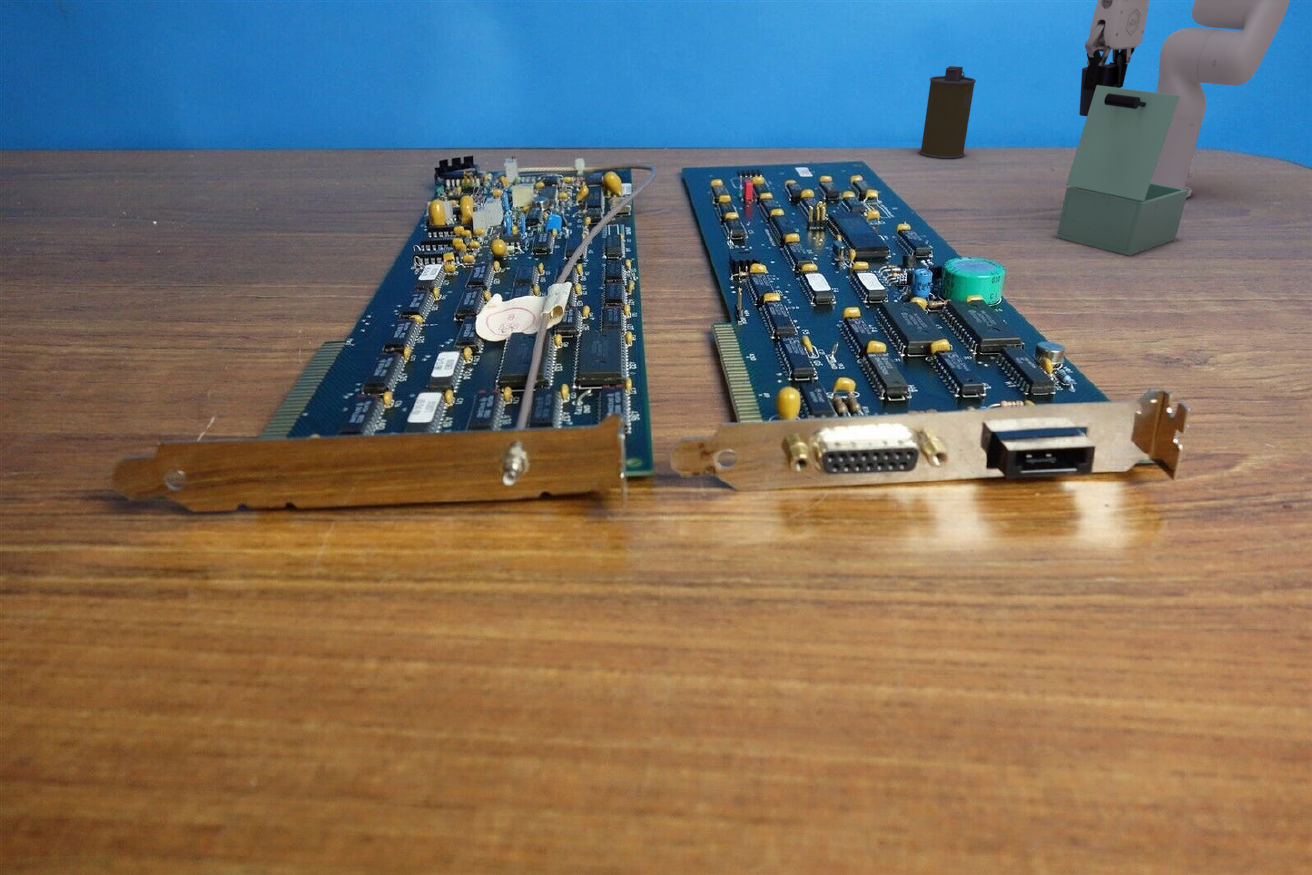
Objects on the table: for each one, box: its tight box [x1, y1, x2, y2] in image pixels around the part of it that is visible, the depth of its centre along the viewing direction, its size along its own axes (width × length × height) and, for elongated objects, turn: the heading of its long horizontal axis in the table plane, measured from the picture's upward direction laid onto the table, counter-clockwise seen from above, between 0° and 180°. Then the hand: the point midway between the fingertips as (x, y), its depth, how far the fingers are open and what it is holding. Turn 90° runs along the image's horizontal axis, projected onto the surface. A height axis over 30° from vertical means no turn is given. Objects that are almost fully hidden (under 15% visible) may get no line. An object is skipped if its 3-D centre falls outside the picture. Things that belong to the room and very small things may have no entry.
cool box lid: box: [1066, 85, 1180, 201], centre depth 153 cm, size 16×14×5 cm
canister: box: [919, 65, 976, 160], centre depth 224 cm, size 11×10×20 cm
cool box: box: [1056, 183, 1189, 257], centre depth 164 cm, size 16×14×9 cm
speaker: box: [1079, 55, 1122, 117], centre depth 167 cm, size 8×6×10 cm
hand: (1103, 87), depth 166 cm, fingers closed on speaker, 6 cm apart
